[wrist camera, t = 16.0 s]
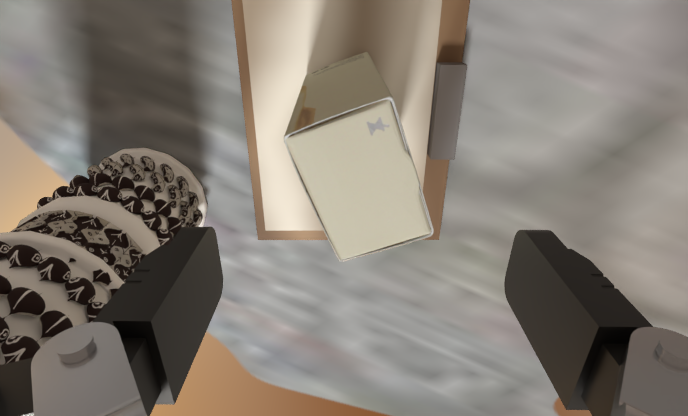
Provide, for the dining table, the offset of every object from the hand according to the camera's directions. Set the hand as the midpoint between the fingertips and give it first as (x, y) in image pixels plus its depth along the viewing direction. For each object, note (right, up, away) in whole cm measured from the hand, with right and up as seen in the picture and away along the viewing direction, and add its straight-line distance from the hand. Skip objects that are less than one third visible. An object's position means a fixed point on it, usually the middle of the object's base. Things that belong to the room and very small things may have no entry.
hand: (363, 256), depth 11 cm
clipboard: (0, +8, +16) cm, 18 cm away
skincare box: (0, +8, +15) cm, 17 cm away
